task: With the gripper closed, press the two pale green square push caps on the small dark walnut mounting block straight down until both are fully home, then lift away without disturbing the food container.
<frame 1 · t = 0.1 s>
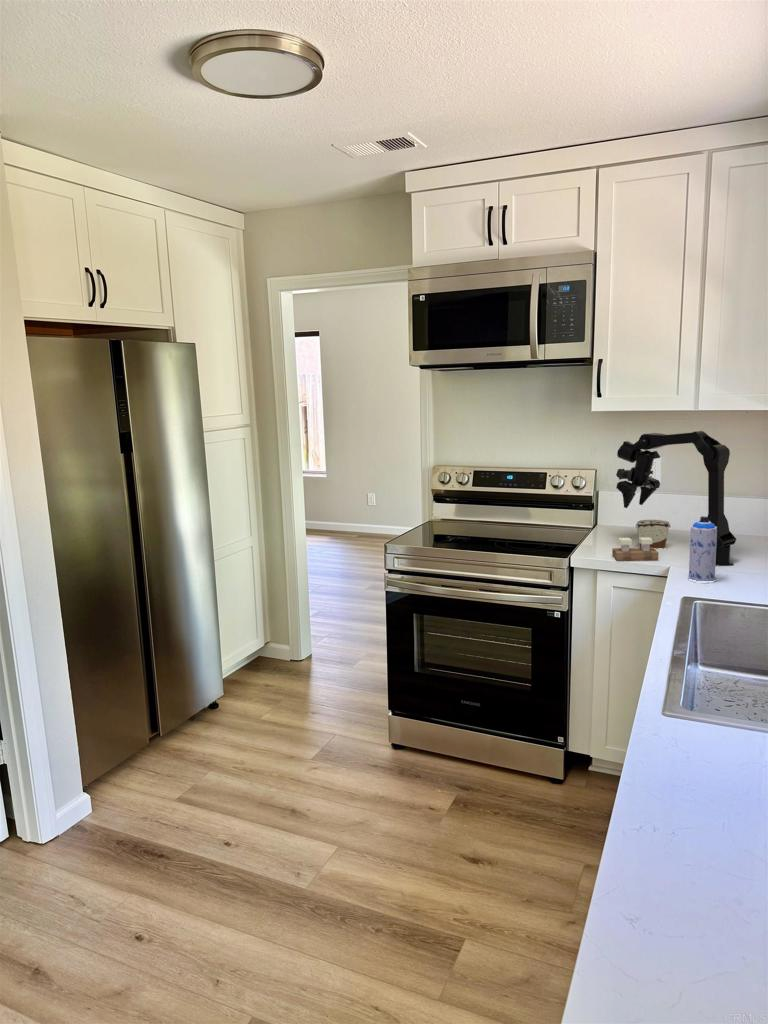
hand: (633, 506, 262), 15 cm above the worktop, tool pointing down, fingers open, 9 cm apart
food container: (650, 547, 262), on the worktop
aerosol can: (701, 580, 218), on the worktop
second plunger: (625, 545, 246), point 5 cm above the worktop, slide at 0.0 cm
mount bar: (634, 558, 247), on the worktop
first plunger: (645, 545, 245), point 5 cm above the worktop, slide at 0.0 cm
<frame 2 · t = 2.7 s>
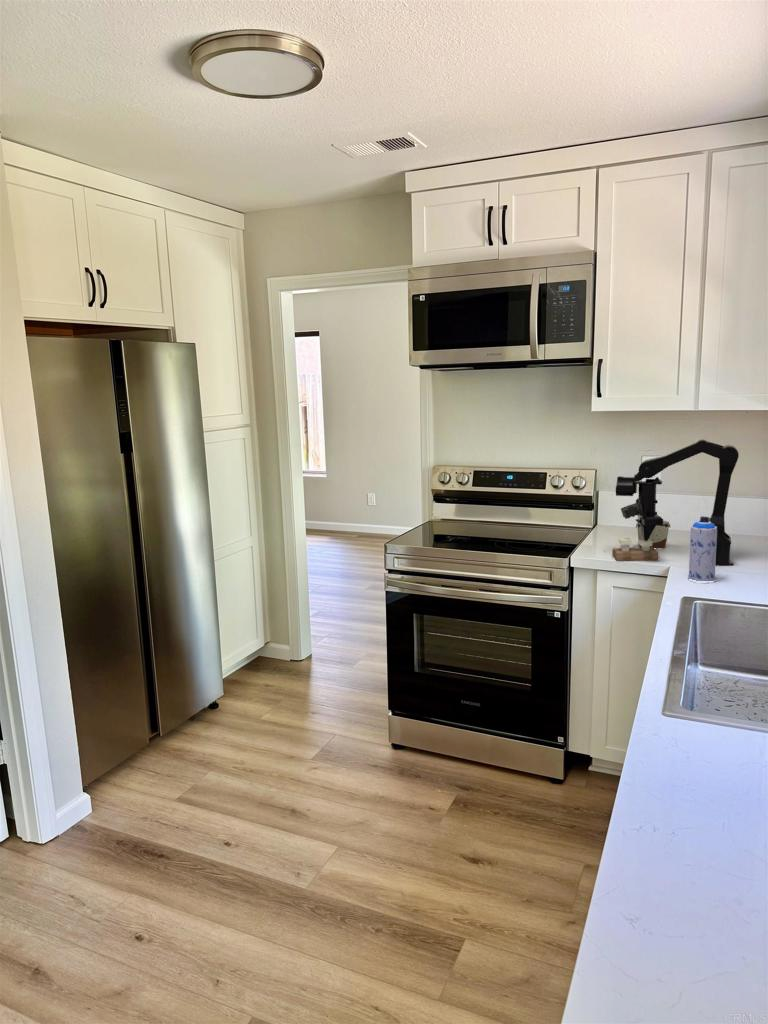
hand: (645, 540, 245), 6 cm above the worktop, tool pointing down, fingers closed, pressing on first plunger
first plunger: (645, 547, 246), point 4 cm above the worktop, slide at 0.7 cm, touching gripper
everything else where it was.
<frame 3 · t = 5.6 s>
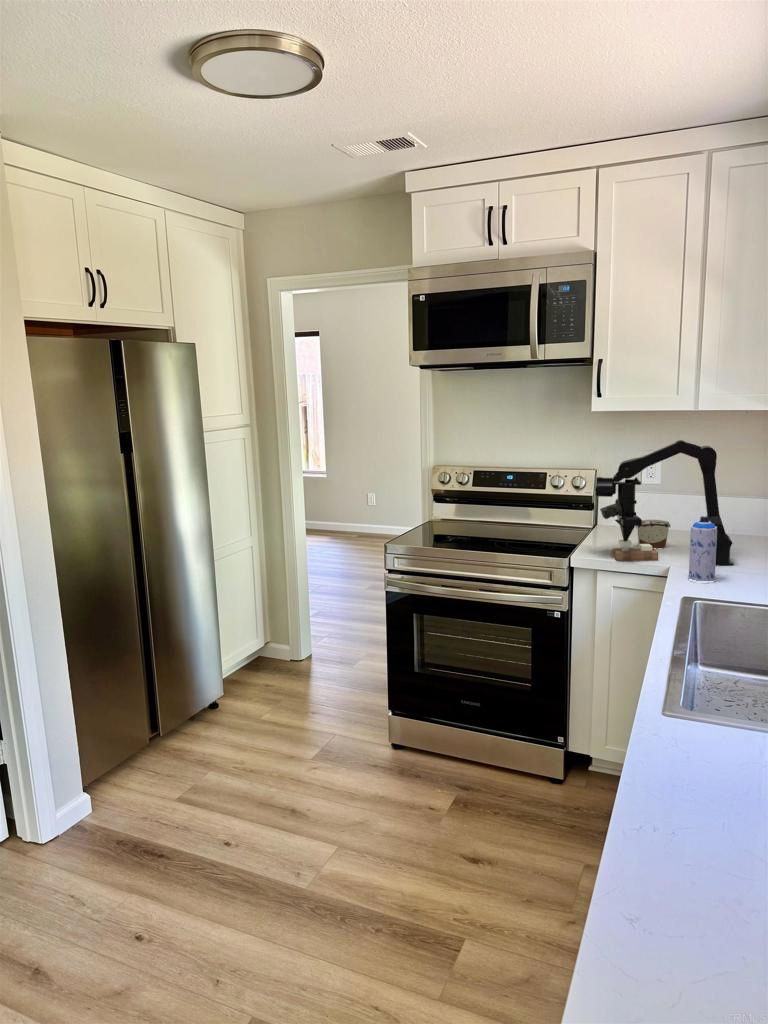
hand: (625, 540, 246), 6 cm above the worktop, tool pointing down, fingers closed, pressing on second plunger
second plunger: (624, 547, 246), point 4 cm above the worktop, slide at 0.7 cm, touching gripper
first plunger: (645, 551, 246), point 2 cm above the worktop, slide at 2.3 cm
everything else where it was.
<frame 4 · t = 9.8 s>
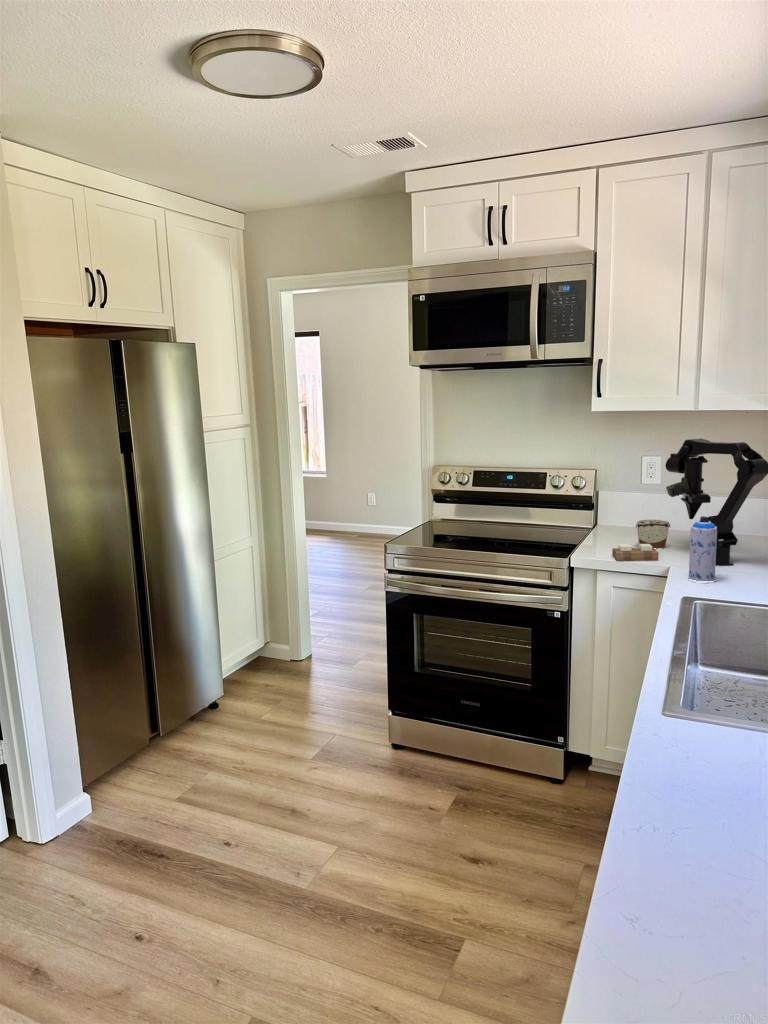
hand: (691, 519, 246), 13 cm above the worktop, tool pointing down, fingers closed
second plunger: (624, 551, 247), point 2 cm above the worktop, slide at 2.3 cm
everything else where it was.
at the end: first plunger slide at 2.3 cm; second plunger slide at 2.3 cm; food container moved 0.2 cm from its start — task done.
